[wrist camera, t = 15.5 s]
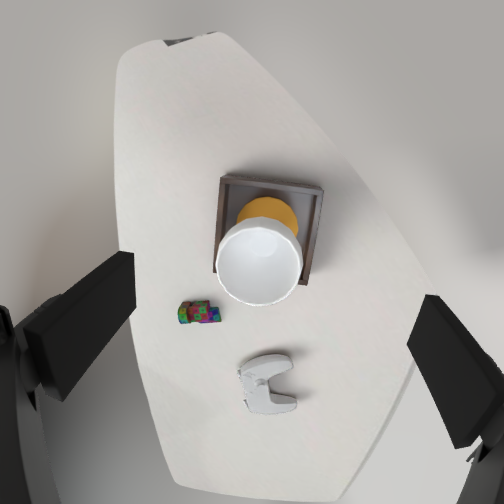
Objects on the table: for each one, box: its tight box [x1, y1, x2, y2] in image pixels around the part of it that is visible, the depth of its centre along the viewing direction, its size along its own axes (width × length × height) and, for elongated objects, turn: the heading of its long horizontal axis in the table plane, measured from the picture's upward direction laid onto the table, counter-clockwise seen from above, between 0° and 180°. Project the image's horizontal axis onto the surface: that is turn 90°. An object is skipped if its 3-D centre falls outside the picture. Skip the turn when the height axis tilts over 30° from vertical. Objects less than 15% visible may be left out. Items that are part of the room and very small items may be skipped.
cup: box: [215, 196, 303, 306], centre depth 38 cm, size 9×9×16 cm
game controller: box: [237, 354, 297, 414], centre depth 53 cm, size 14×4×10 cm
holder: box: [213, 175, 324, 286], centre depth 44 cm, size 14×14×4 cm
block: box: [178, 300, 221, 324], centre depth 50 cm, size 6×4×3 cm
